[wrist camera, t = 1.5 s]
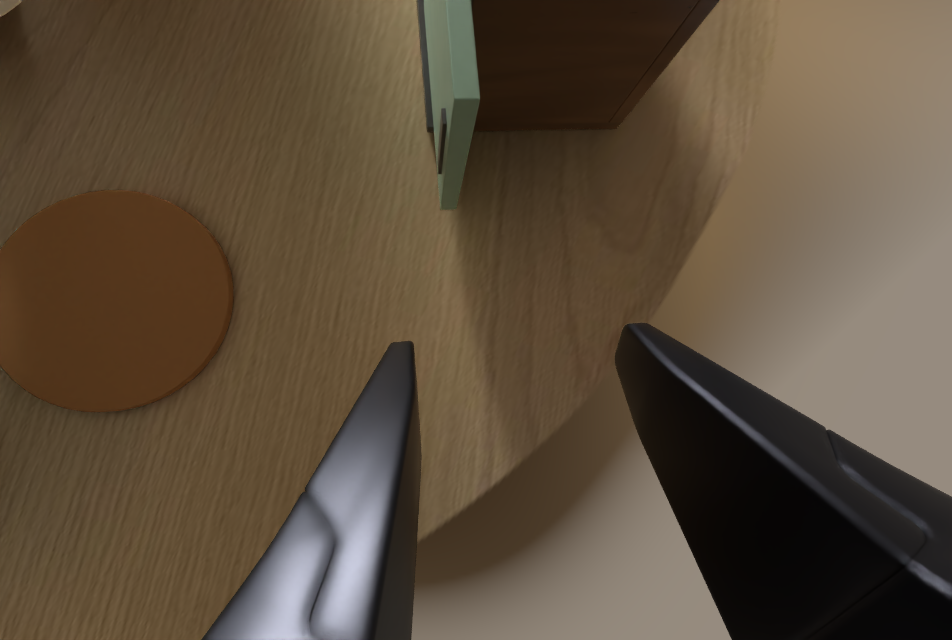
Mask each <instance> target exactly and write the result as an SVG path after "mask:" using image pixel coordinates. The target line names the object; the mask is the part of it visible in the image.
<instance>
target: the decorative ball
mask: <svg viewBox="0 0 952 640" xmlns="http://www.w3.org/2000/svg"><path fill="white" fill-rule="evenodd" d="M21 1H23V0H0V17H2V16H3V15H5V14H6V13H8V12H9V11H10V10H12V9H13V8H14V7H16V6H17V5H18V4H19V3H20V2H21Z"/></svg>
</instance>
